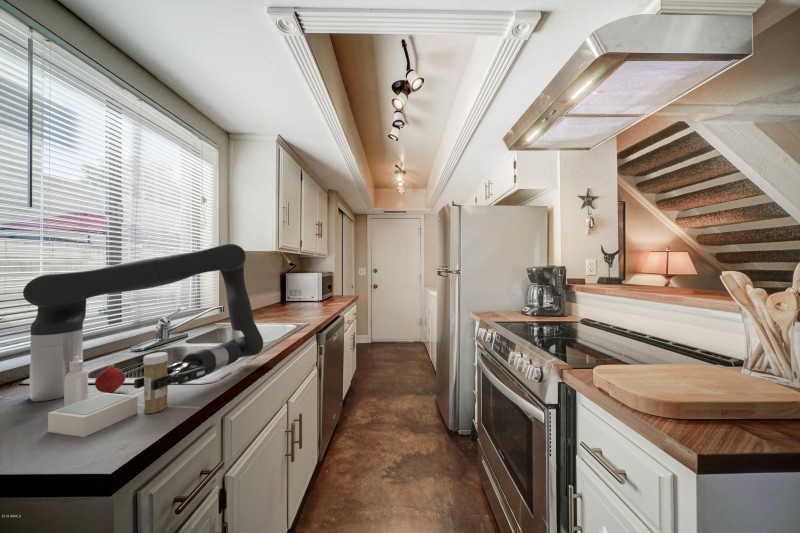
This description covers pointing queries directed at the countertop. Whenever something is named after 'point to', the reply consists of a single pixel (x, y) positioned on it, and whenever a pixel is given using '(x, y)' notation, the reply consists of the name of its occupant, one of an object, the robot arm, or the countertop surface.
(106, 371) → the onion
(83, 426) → the block
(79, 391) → the eye dropper bottle
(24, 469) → the countertop surface
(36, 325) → the robot arm
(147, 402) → the sprinkles bottle
